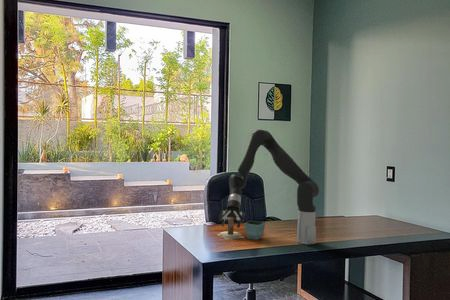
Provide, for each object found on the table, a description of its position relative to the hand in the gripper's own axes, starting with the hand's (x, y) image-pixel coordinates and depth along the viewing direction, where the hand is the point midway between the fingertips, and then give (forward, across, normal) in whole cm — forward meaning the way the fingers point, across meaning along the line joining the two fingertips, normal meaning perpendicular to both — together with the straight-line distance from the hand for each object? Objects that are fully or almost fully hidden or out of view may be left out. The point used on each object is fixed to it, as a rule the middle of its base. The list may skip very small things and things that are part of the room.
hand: (230, 226), depth 214 cm
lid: (+3, 0, +5) cm, 6 cm away
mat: (+3, 0, +5) cm, 6 cm away
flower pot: (+4, +13, +4) cm, 15 cm away
